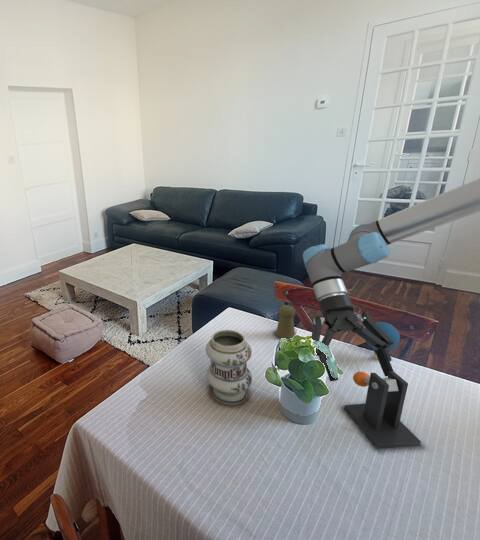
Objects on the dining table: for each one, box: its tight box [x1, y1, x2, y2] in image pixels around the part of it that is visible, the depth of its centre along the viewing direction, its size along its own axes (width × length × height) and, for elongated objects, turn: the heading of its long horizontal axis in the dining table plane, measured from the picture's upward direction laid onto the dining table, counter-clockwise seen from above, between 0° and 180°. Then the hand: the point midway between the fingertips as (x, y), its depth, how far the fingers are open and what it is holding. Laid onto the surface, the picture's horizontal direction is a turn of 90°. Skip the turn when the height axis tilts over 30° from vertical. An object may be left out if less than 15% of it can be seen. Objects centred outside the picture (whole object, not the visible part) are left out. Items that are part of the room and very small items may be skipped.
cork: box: [275, 304, 296, 340], centre depth 116 cm, size 6×6×11 cm
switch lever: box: [352, 371, 398, 392], centre depth 80 cm, size 12×4×4 cm
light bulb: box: [364, 321, 401, 360], centre depth 99 cm, size 8×8×12 cm
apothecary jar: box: [204, 329, 253, 406], centre depth 92 cm, size 12×12×18 cm
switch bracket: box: [343, 370, 422, 450], centre depth 77 cm, size 12×9×14 cm
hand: (361, 378), depth 84 cm, fingers open, 13 cm apart
